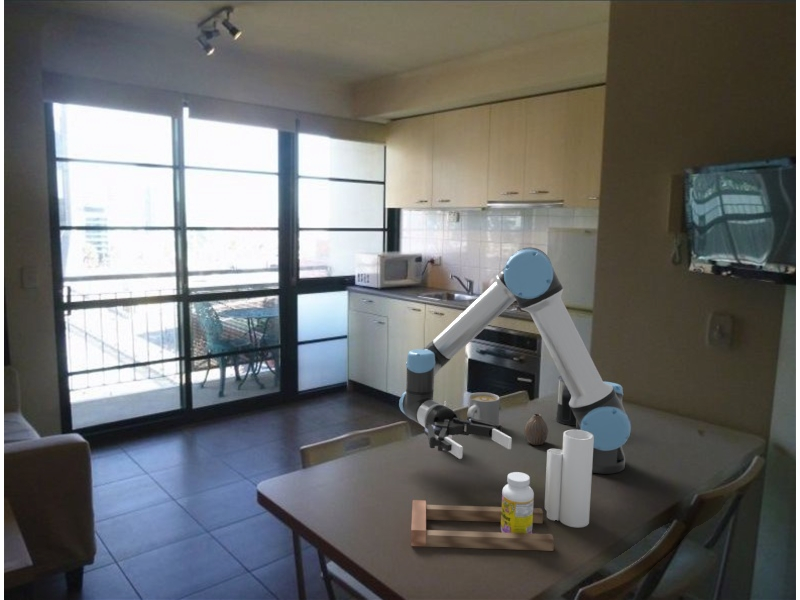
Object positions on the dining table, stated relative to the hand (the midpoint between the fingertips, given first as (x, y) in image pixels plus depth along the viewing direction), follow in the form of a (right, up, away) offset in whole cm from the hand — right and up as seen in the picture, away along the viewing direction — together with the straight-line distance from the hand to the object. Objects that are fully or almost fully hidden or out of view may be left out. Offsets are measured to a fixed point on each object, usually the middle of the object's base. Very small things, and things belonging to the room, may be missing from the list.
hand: (486, 448), depth 133 cm
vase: (+22, -10, +45) cm, 51 cm away
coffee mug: (+6, -8, +58) cm, 59 cm away
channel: (-2, -16, -7) cm, 18 cm away
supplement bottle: (+5, -17, -7) cm, 19 cm away
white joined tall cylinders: (+18, -16, +1) cm, 24 cm away
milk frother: (+41, -8, +62) cm, 75 cm away
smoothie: (-7, -10, +40) cm, 42 cm away
